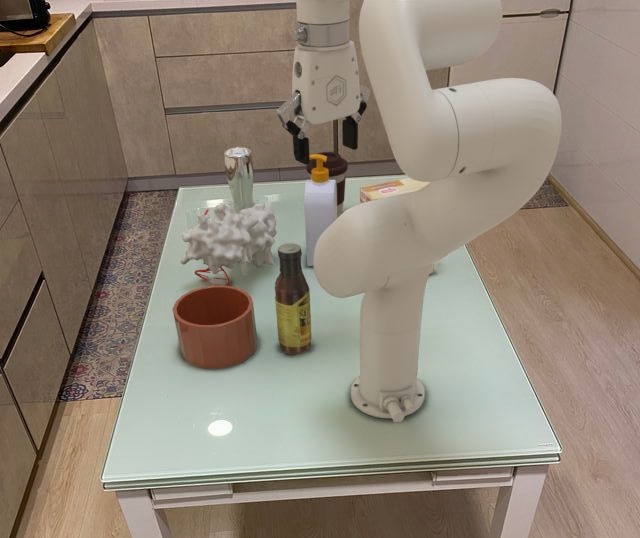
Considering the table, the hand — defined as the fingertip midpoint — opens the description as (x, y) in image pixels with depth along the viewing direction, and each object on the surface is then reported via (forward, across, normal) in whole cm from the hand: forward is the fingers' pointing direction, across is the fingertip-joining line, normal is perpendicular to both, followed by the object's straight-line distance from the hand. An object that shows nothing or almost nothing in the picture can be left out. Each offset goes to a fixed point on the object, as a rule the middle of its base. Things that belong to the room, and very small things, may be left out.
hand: (326, 154), depth 108 cm
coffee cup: (+34, +31, +42) cm, 62 cm away
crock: (+34, -20, +9) cm, 40 cm away
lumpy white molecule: (+34, -4, +31) cm, 46 cm away
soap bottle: (+34, +17, +25) cm, 45 cm away
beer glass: (+34, +17, +59) cm, 70 cm away
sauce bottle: (+34, -8, 0) cm, 35 cm away
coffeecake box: (+34, +25, +9) cm, 43 cm away
